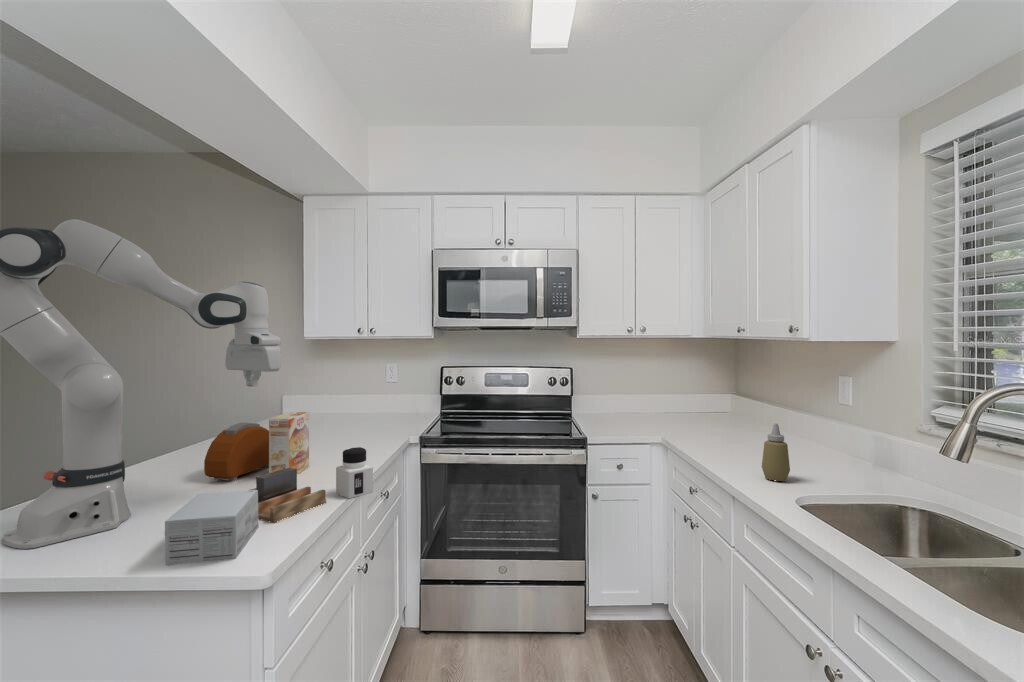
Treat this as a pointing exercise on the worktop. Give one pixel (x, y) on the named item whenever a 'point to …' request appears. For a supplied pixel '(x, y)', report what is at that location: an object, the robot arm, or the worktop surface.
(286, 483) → the block
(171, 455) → the worktop surface
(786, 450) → the squeeze bottle
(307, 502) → the rack
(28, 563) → the worktop surface
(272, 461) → the coffeecake box
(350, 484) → the container
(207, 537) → the supplement box
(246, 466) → the orange rounded block
